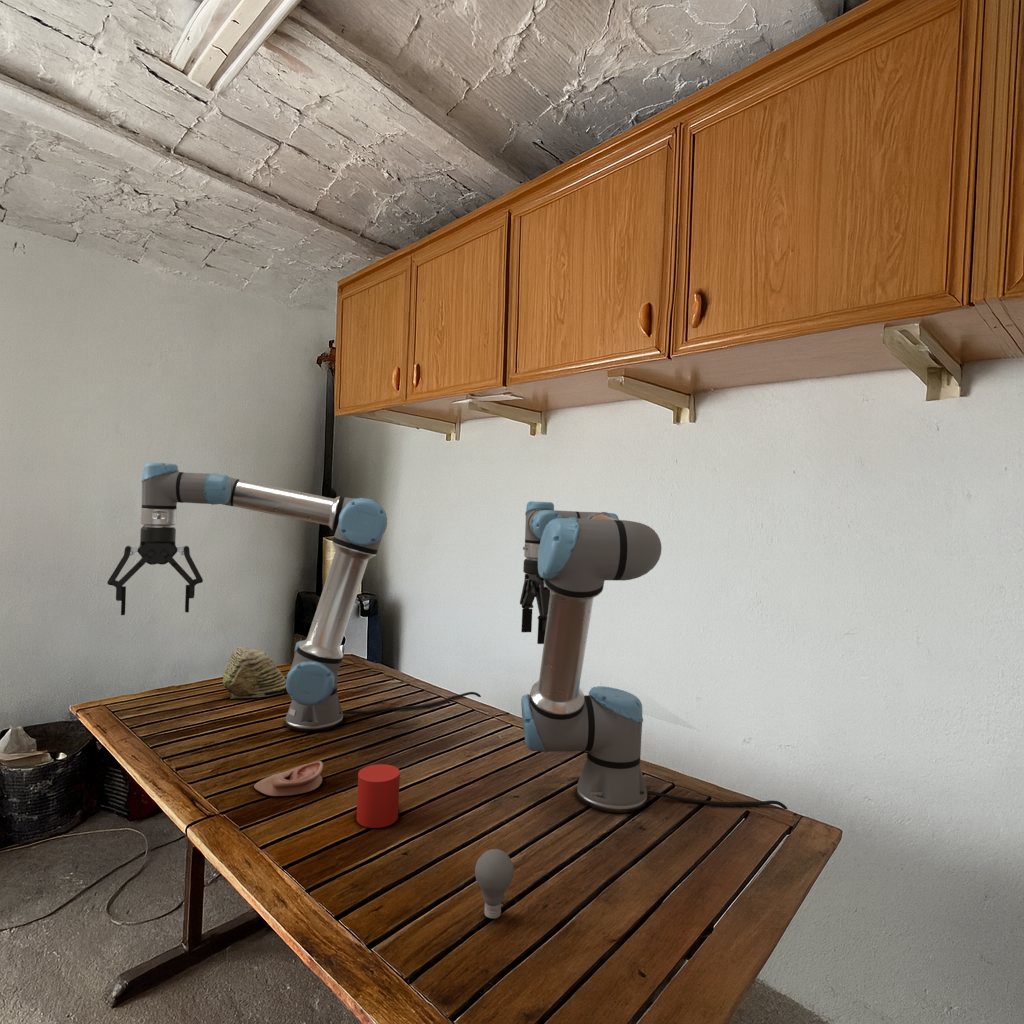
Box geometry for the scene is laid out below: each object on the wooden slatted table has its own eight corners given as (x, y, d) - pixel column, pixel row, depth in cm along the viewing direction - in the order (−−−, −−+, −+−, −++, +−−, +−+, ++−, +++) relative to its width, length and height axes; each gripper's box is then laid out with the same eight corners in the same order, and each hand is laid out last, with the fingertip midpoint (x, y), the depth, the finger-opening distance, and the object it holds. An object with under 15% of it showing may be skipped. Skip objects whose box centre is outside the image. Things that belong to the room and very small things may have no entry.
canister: (347, 819, 125) (349, 774, 125) (377, 803, 132) (379, 760, 132) (377, 832, 121) (379, 785, 120) (406, 815, 127) (408, 771, 127)
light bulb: (472, 903, 100) (475, 841, 100) (510, 903, 101) (513, 841, 101) (473, 929, 94) (476, 863, 94) (513, 928, 95) (516, 862, 95)
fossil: (218, 695, 195) (220, 647, 195) (278, 685, 208) (279, 640, 207) (228, 703, 189) (230, 653, 188) (289, 692, 201) (290, 645, 201)
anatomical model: (246, 773, 134) (276, 753, 145) (245, 792, 134) (276, 770, 145) (303, 782, 131) (330, 760, 142) (302, 801, 131) (329, 777, 142)
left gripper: (96, 526, 145) (93, 618, 145) (216, 528, 157) (213, 613, 158) (98, 524, 152) (96, 612, 152) (213, 526, 164) (210, 607, 164)
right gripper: (511, 554, 181) (507, 627, 181) (540, 564, 157) (536, 649, 157) (535, 554, 183) (532, 627, 183) (568, 564, 159) (564, 648, 159)
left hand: (155, 613), depth 155 cm, fingers open, 13 cm apart
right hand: (534, 637), depth 170 cm, fingers open, 13 cm apart
